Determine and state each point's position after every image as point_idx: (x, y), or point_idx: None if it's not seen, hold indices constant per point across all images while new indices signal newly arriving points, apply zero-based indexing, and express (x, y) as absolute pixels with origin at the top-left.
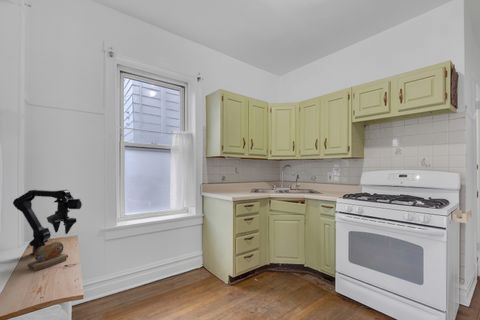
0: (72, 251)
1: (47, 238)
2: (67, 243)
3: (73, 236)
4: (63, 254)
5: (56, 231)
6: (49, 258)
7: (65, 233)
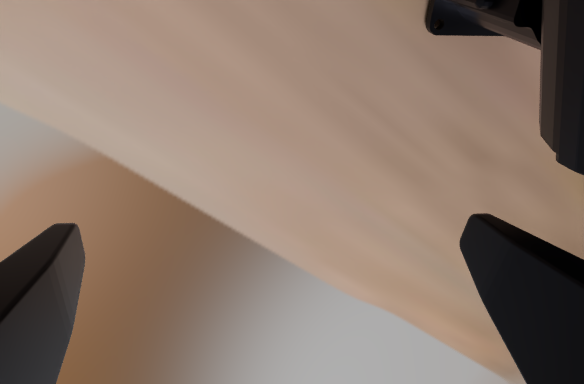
0: (162, 157)
1: (543, 67)
2: (440, 285)
3: (517, 381)
4: None
5: (478, 240)
6: None
7: (66, 228)
